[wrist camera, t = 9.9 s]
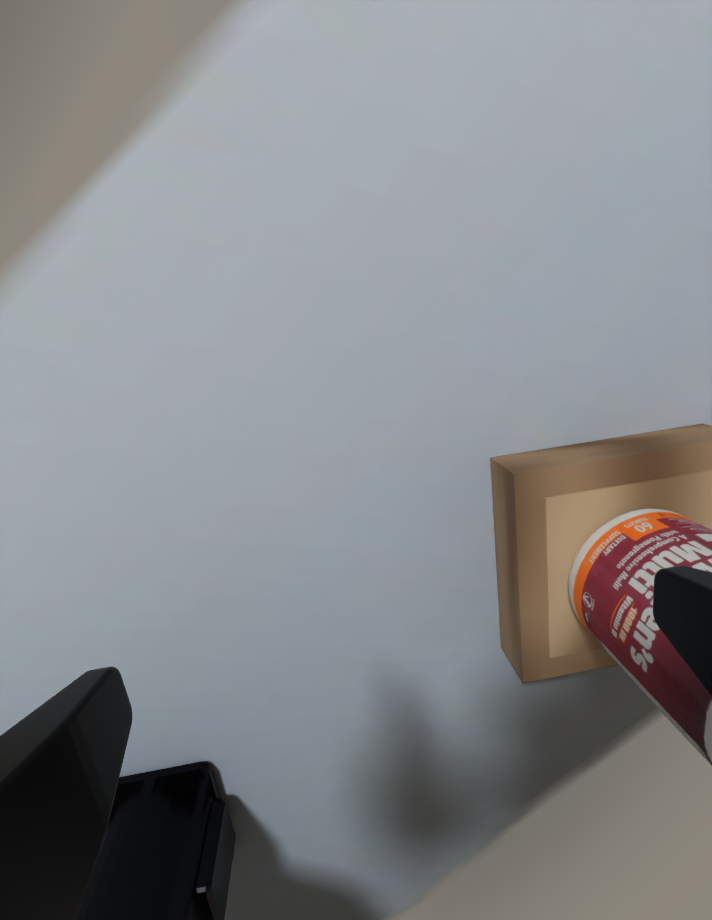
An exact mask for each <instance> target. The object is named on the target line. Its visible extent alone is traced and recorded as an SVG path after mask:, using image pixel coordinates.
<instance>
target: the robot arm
mask: <svg viewBox="0 0 712 920" xmlns="http://www.w3.org/2000/svg"><path fill="white" fill-rule="evenodd" d="M653 616H654V619H655V622H656V624H657V626H658V627H659V629H660V630H661V631H662V633H663V634H664V635H665V637H666V638H667V639H668V640H669V642H670V643H671V644H672V646H673V647H674V648H675V650H676V651H677V652H678V654H679V655H680V656H681V658H682V659H683V660H684V662H685V663H686V664H687V666H688V667H689V668H690V669H691V671H692V672H693V673H694V675H695V676H696V677H697V679H698V680H699V681H700V683H701V684H702V685H703V687H704V688H705V689H706V691H707V692H708V693H709V694H710V696H711V697H712V573H711V572H708V571H704V570H700V569H696V568H692V567H688V566H674V567H668V568H663V569H660V570H658V571H657V572H656V574H655V577H654V592H653ZM131 724H132V708H131V704H130V701H129V698H128V695H127V692H126V689H125V686H124V683H123V680H122V677H121V674H120V672H119V670H118V669H117V668H115V667H106V668H100V669H95V670H90V671H87V672H86V673H84V674H83V675H81V676H80V677H79V678H77V679H76V680H75V681H73V682H72V683H71V684H69V685H68V686H67V687H65V688H64V689H63V690H61V691H60V692H59V693H57V694H56V695H55V696H53V697H52V698H51V699H49V700H48V701H47V702H45V703H44V704H43V705H41V706H40V707H39V708H37V709H36V710H34V711H33V712H32V713H30V714H29V715H28V716H26V717H25V718H24V719H22V720H21V721H20V722H18V723H17V724H16V725H14V726H13V727H12V728H10V729H9V730H8V731H6V732H5V733H4V734H2V735H1V736H0V920H224V916H225V909H226V902H227V895H228V887H229V880H230V873H231V865H232V859H233V855H234V844H235V832H234V829H233V825H232V821H231V818H230V814H229V811H228V807H227V803H226V801H225V800H224V799H223V798H220V795H219V792H218V788H217V785H216V781H215V778H214V774H213V771H212V768H211V766H210V765H209V764H208V763H205V762H198V763H192V764H187V765H182V766H177V767H172V768H167V769H161V770H156V771H151V772H146V773H141V774H136V775H130V776H125V777H120V778H119V776H120V771H121V767H122V763H123V759H124V754H125V750H126V746H127V741H128V737H129V733H130V729H131ZM199 773H202V774H199Z"/></svg>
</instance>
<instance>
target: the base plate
mask: <svg viewBox="0 0 712 920" xmlns="http://www.w3.org/2000/svg"><path fill="white" fill-rule="evenodd" d="M490 459H491V477H492V494H493V512H494V529H495V547H496V564H497V582H498V600H499V617H500V635H501V648H502V650H503V651H504V653H505V654H506V656H507V658H508V659H509V661H510V663H511V664H512V666H513V668H514V669H515V671H516V672H517V674H518V676H519V677H520V679H521V681H522V682H523V683H526V682H532V681H537V680H542V679H547V678H552V677H558V676H563V675H568V674H573V673H579V672H584V671H589V670H594V669H600V668H605V667H610V666H615V665H619V664H618V663H617V662H616V661H615V660H614V659H613V658H612V657H611V656H610V655H609V653H608V652H607V651H606V650H605V648H604V647H603V646H602V645H601V644H600V643H599V642H598V641H597V640H596V639H595V637H594V636H593V635H592V634H591V633H590V632H589V631H588V630H587V628H586V627H585V626H584V625H583V624H582V623H581V621H580V620H579V619H578V617H577V616H576V614H575V612H574V610H573V607H572V604H571V601H570V597H569V586H568V583H569V574H570V571H571V568H572V565H573V562H574V559H575V557H576V555H577V554H578V552H579V550H580V549H581V547H582V546H583V544H584V543H585V542H586V541H587V539H588V538H589V537H590V536H591V535H592V534H593V533H594V532H595V531H596V530H597V529H599V528H600V527H601V526H603V525H604V524H606V523H607V522H609V521H610V520H612V519H614V518H616V517H618V516H620V515H622V514H625V513H628V512H631V511H635V510H640V509H662V510H667V511H672V512H675V513H678V514H680V515H682V516H684V517H686V518H689V519H691V520H693V521H695V522H697V523H698V524H701V525H703V526H705V527H707V528H709V529H711V530H712V426H709V425H705V424H698V425H692V426H686V427H680V428H674V429H667V430H661V431H655V432H649V433H642V434H636V435H630V436H624V437H617V438H611V439H605V440H599V441H593V442H586V443H580V444H574V445H568V446H561V447H555V448H549V449H543V450H537V451H530V452H524V453H518V454H512V455H505V456H499V457H493V458H490Z"/></svg>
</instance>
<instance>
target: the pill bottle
mask: <svg viewBox="0 0 712 920" xmlns="http://www.w3.org/2000/svg"><path fill="white" fill-rule="evenodd" d="M674 566H688V567H692V568H696V569H700V570H704V571H708V572H711V573H712V530H711V529H709V528H707V527H705V526H703V525H701V524H698V523H697V522H695V521H693V520H691V519H689V518H686V517H684V516H682V515H680V514H678V513H675V512H672V511H667V510H662V509H640V510H635V511H631V512H628V513H625V514H622V515H620V516H618V517H616V518H614V519H612V520H610V521H609V522H607V523H606V524H604V525H603V526H601V527H600V528H599V529H597V530H596V531H595V532H594V533H593V534H592V535H591V536H590V537H589V538H588V539H587V541H586V542H585V543H584V544H583V546H582V547H581V549H580V550H579V552H578V554H577V555H576V557H575V559H574V562H573V565H572V568H571V571H570V574H569V583H568V586H569V597H570V601H571V604H572V607H573V610H574V612H575V614H576V616H577V617H578V619H579V620H580V621H581V623H582V624H583V625H584V626H585V627H586V628H587V630H588V631H589V632H590V633H591V634H592V635H593V636H594V637H595V639H596V640H597V641H598V642H599V643H600V644H601V645H602V646H603V647H604V648H605V650H606V651H607V652H608V653H609V655H610V656H611V657H612V658H613V659H614V660H615V661H616V662H617V663H618V664H619V665H620V666H621V668H622V669H623V670H624V671H625V672H626V673H627V674H628V675H629V676H630V678H631V679H632V680H633V681H634V682H635V683H636V684H637V685H638V686H639V688H640V689H641V690H642V691H643V692H644V693H645V694H646V695H647V696H648V697H649V699H650V700H651V701H652V702H653V703H654V704H655V705H656V706H657V707H658V708H659V710H660V711H661V712H662V713H663V714H664V715H665V716H666V717H667V718H668V719H669V720H670V722H671V723H672V724H673V725H674V726H675V727H676V728H677V729H678V730H679V731H680V732H681V733H682V735H684V737H685V738H686V739H687V740H688V741H689V742H690V743H691V744H692V745H693V746H694V747H695V748H696V749H697V750H698V751H699V752H700V753H701V754H702V756H703V757H705V759H707V761H708V762H709V763H710V764H711V765H712V697H711V696H710V694H709V693H708V692H707V691H706V689H705V688H704V687H703V685H702V684H701V683H700V681H699V680H698V679H697V677H696V676H695V675H694V673H693V672H692V671H691V669H690V668H689V667H688V666H687V664H686V663H685V662H684V660H683V659H682V658H681V656H680V655H679V654H678V652H677V651H676V650H675V648H674V647H673V646H672V644H671V643H670V642H669V640H668V639H667V638H666V637H665V635H664V634H663V633H662V631H661V630H660V629H659V627H658V626H657V624H656V622H655V619H654V616H653V592H654V577H655V574H656V572H657V571H658V570H660V569H663V568H668V567H674Z"/></svg>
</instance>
